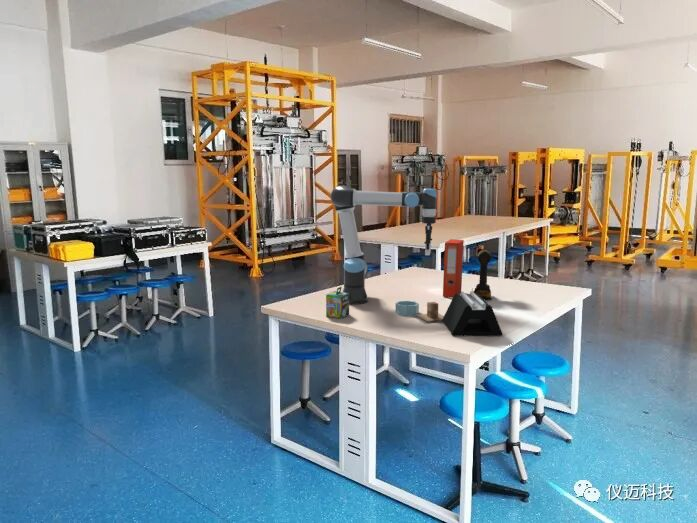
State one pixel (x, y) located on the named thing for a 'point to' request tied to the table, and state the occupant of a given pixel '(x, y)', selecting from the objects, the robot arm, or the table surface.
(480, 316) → the device stand
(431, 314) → the lid
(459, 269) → the file binder
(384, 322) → the table surface
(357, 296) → the robot arm
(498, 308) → the table surface
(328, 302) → the chalk box
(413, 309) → the bowl
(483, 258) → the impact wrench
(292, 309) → the table surface
